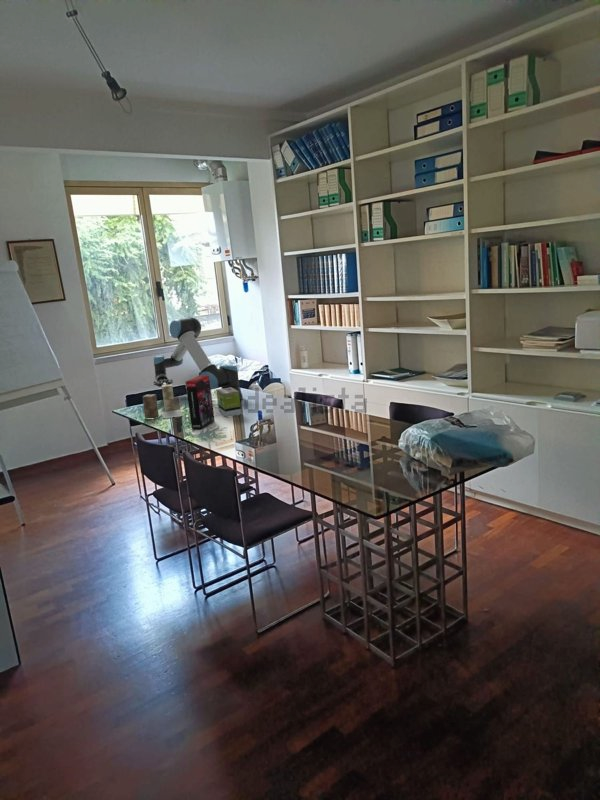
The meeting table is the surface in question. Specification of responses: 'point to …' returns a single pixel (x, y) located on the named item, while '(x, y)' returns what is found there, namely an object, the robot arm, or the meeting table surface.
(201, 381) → the graphics card box
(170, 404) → the beech block
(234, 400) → the tea box
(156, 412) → the walnut block
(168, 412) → the grey felt mat
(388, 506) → the meeting table surface
